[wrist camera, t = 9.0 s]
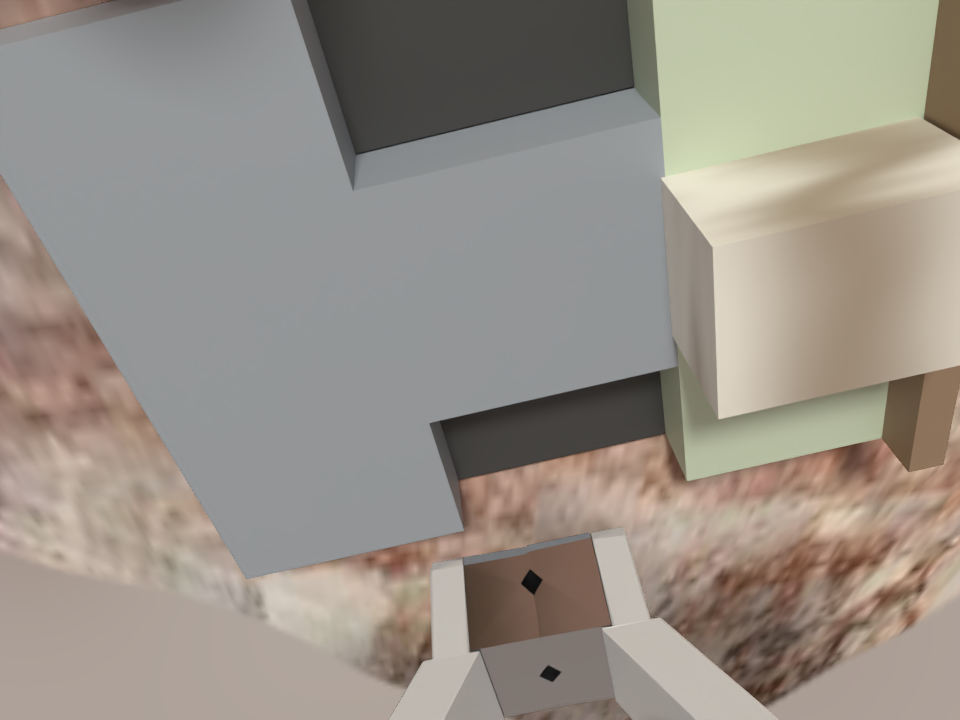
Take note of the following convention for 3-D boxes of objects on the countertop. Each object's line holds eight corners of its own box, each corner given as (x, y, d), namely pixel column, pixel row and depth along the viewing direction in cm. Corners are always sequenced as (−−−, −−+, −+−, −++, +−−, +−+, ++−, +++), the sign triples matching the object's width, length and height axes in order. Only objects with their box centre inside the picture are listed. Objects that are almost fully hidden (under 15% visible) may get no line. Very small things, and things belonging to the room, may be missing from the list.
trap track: (940, -209, 16) (1078, -213, 13) (872, 381, 26) (943, 464, 22) (-14, 32, 17) (-107, 85, 14) (257, 520, 26) (239, 619, 23)
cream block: (919, 116, 18) (1021, 175, 15) (897, 283, 20) (981, 360, 18) (660, 177, 18) (713, 247, 15) (672, 335, 21) (718, 419, 18)
